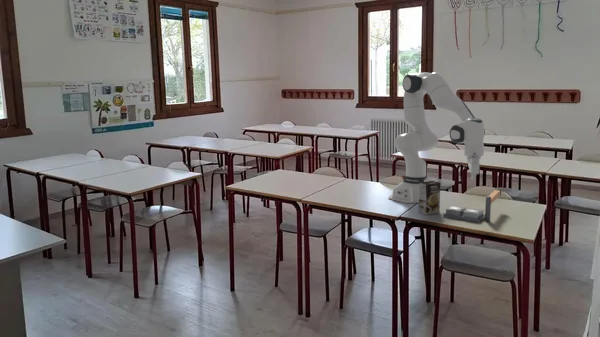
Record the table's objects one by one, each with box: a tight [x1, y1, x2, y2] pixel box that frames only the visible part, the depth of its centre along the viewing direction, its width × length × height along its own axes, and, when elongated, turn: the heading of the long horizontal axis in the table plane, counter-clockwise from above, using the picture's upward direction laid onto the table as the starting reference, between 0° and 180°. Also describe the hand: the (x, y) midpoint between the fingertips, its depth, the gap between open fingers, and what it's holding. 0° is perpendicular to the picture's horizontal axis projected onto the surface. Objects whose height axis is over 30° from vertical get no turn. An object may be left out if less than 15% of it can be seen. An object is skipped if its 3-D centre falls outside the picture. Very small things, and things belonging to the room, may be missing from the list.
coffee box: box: [418, 180, 441, 216], centre depth 264 cm, size 9×6×16 cm
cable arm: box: [484, 188, 502, 222], centre depth 256 cm, size 24×3×12 cm, turn 147°
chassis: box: [442, 204, 485, 223], centre depth 255 cm, size 18×10×4 cm, turn 51°
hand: (473, 179), depth 248 cm, fingers closed
